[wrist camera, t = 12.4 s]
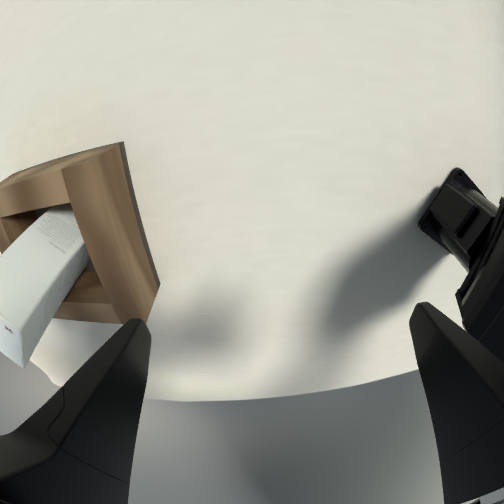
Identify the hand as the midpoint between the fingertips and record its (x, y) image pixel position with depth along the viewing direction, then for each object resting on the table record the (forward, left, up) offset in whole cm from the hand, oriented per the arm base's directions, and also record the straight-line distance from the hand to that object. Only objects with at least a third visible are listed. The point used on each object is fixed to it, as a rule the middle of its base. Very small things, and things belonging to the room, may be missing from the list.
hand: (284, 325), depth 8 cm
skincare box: (+13, +10, -12) cm, 21 cm away
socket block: (+13, +10, -13) cm, 21 cm away
